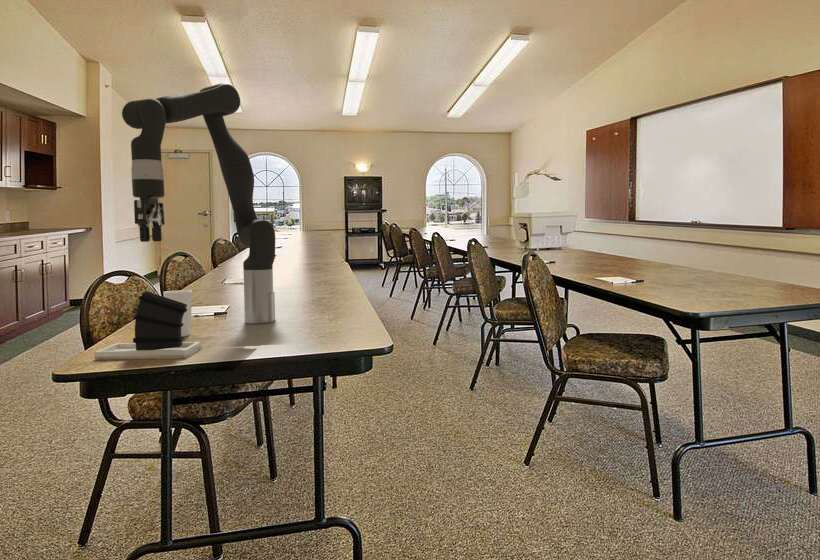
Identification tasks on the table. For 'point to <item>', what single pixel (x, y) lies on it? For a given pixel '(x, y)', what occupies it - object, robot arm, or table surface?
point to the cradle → (146, 352)
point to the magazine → (158, 322)
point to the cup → (186, 298)
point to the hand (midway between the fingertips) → (151, 241)
